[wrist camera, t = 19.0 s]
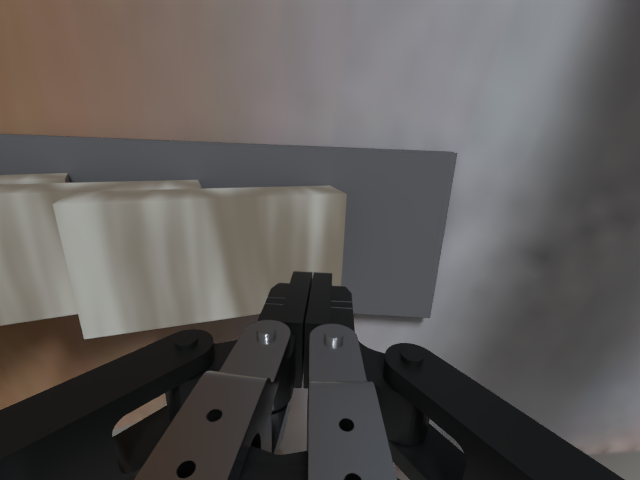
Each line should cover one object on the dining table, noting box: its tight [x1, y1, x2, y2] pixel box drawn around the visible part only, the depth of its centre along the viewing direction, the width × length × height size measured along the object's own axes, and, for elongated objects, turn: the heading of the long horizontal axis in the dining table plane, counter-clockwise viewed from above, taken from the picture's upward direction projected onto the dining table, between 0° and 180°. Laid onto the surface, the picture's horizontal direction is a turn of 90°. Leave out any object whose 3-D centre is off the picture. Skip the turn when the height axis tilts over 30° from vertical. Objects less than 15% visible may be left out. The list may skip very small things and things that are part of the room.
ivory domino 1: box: [0, 180, 202, 326], centre depth 16 cm, size 2×6×12 cm
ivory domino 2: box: [53, 185, 347, 339], centre depth 16 cm, size 2×6×12 cm
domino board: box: [0, 134, 457, 318], centre depth 21 cm, size 48×10×1 cm, turn 88°
